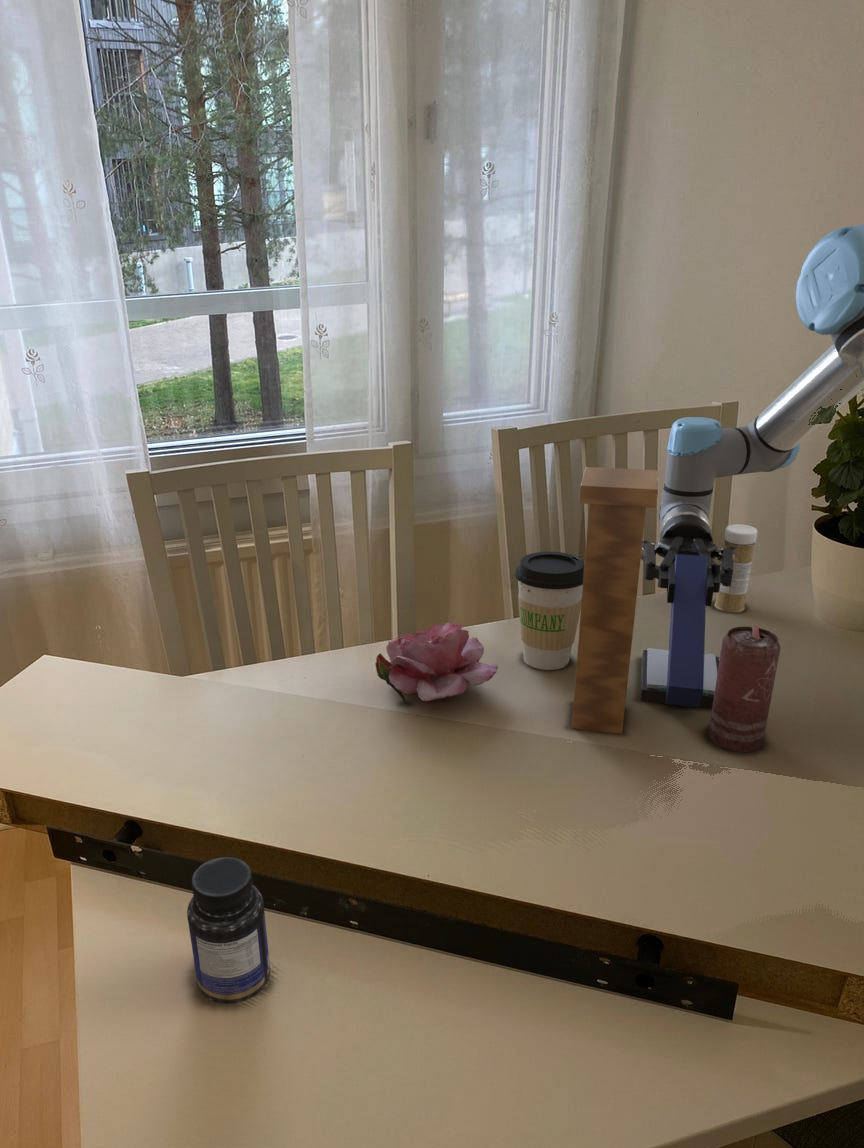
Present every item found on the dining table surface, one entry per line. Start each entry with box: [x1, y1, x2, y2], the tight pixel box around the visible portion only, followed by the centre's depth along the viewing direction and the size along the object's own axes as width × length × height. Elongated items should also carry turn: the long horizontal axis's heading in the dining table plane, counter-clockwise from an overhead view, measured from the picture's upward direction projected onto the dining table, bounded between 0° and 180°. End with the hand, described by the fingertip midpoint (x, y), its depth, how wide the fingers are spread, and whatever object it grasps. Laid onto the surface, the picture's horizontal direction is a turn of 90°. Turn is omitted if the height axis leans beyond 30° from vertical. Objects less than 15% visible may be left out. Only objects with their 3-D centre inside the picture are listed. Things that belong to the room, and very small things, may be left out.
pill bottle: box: [186, 856, 271, 1005], centre depth 74 cm, size 6×6×11 cm
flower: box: [375, 621, 499, 705], centre depth 119 cm, size 15×15×10 cm
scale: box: [640, 647, 720, 709], centre depth 121 cm, size 10×12×3 cm
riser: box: [571, 466, 659, 735], centre depth 107 cm, size 8×8×31 cm
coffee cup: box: [514, 551, 585, 671], centre depth 125 cm, size 10×10×15 cm
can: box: [708, 625, 781, 753], centre depth 105 cm, size 6×6×14 cm
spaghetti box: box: [665, 554, 707, 708], centre depth 118 cm, size 4×22×4 cm, turn 165°
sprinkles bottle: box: [714, 523, 758, 613], centre depth 141 cm, size 5×5×13 cm
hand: (690, 594), depth 118 cm, fingers closed on spaghetti box, 4 cm apart
